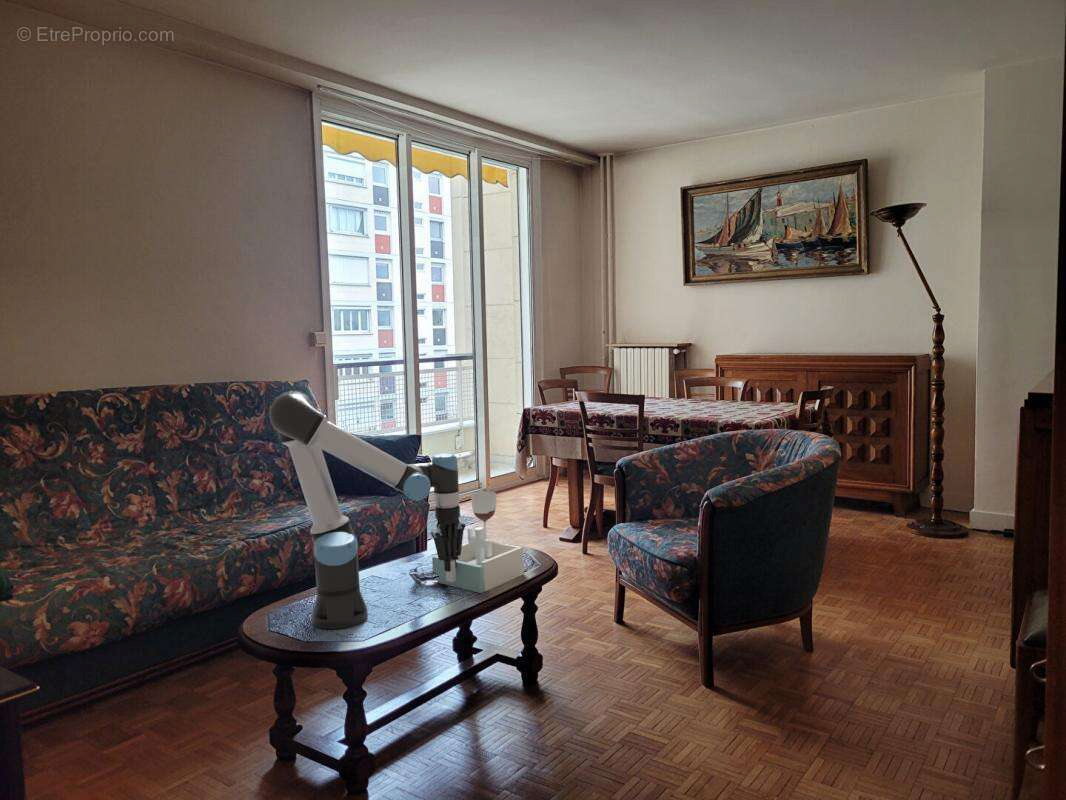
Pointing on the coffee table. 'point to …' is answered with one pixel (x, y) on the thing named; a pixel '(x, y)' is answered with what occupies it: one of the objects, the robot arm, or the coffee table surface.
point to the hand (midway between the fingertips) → (451, 580)
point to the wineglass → (484, 506)
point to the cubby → (497, 563)
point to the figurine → (479, 545)
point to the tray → (461, 575)
